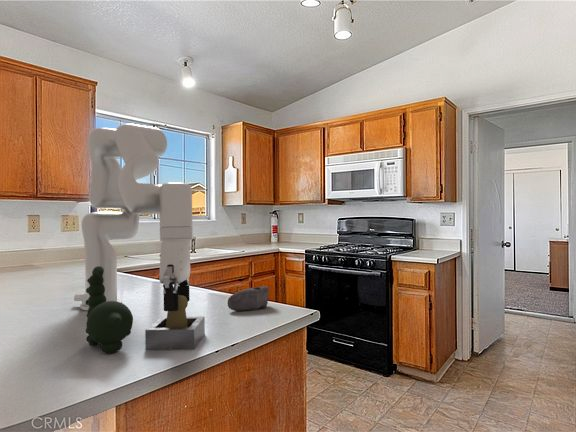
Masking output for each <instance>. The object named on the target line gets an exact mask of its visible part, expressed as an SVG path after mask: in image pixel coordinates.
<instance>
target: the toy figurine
mask: <svg viewBox="0 0 576 432" xmlns="http://www.w3.org/2000/svg"><path fill="white" fill-rule="evenodd" d="M103 273H104V269H103V267H101V266H97V267H95V268H94V269H93V271H92V276H91V277H90V278H88V280H87V282H88V283H89V284H90V286H89V288H87V289H86V292H87V293H89V295H90V297H89V298H88V300H86V304H87V305H89V309H88V310H87V314H86V318H87V319H86V324H85V325H86V326H85V327H86V329H85V333H86V334H88V335H87V336H86V338H85V340H86V342H87V343H88V345H89V346H91V347H95V346H96V347H97V346H98V345H99V344H100V345H101V346H100V350H101V352H102V353H103V354H107V355H108V354H114V353H115V354H116V353H117V352H118V351H120V350H121V349H122V348H123V342H122V340H124V339H125V338H126V337H128V336H130V335H131V333H132V328H133V323H134V317H133V313H132V311H131V310H130V308H129V307H128V306H127V305H126V304H124V303H123V302H122V303H120V302H117V301H107V302H106V297H105V295H104V293H105V286H104V285H103V282H104V279H103V277H102V276H103Z"/></svg>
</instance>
